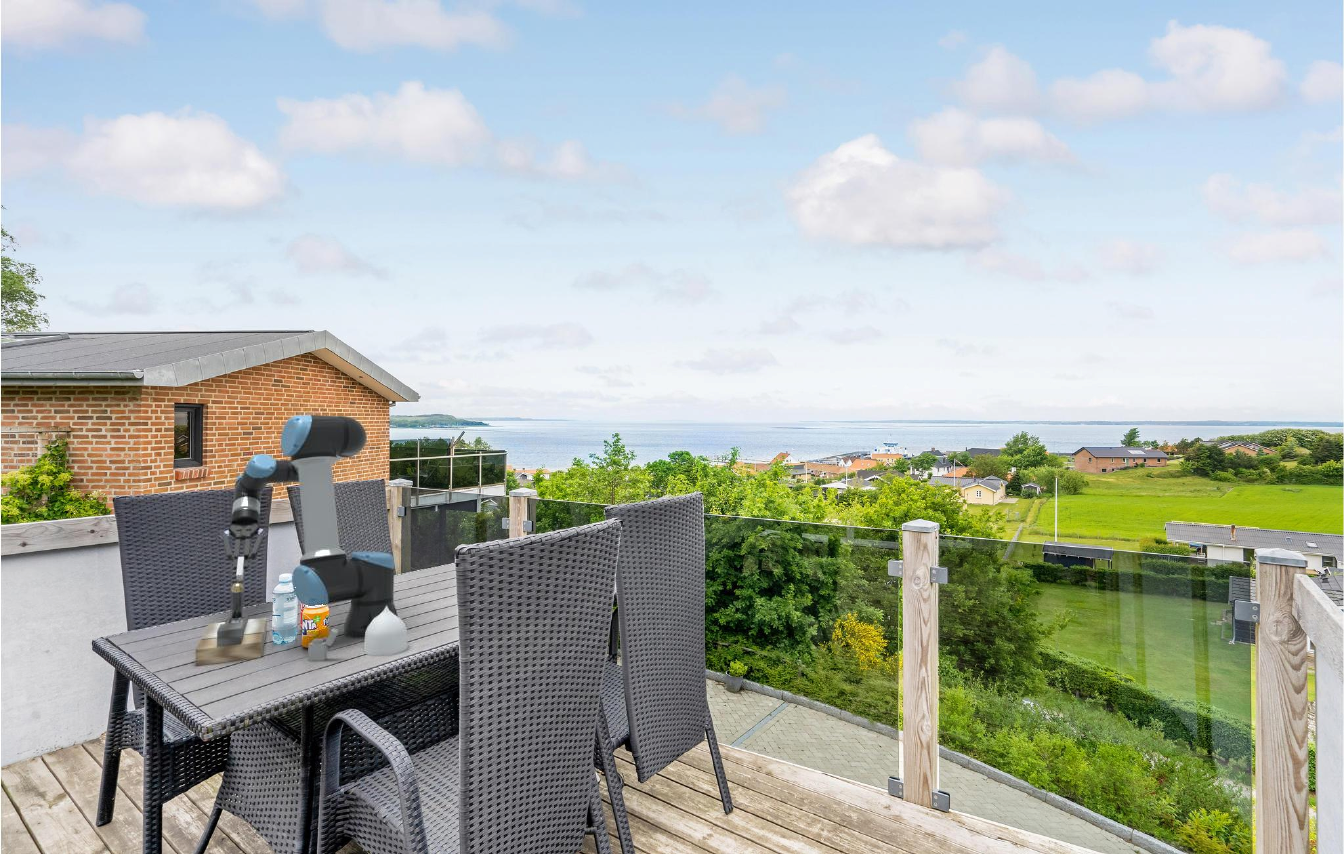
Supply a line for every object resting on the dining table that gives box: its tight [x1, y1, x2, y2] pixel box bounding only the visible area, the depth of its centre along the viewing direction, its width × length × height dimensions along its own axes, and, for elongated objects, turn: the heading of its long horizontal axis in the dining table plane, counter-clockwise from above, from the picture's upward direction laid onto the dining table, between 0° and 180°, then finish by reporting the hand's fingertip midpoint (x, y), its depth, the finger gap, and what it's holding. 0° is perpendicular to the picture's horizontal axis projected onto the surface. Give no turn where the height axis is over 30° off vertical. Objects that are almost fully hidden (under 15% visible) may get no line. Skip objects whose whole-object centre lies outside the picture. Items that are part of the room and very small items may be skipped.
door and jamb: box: [194, 613, 268, 666], centre depth 180 cm, size 14×25×8 cm, turn 29°
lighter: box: [307, 627, 340, 662], centre depth 171 cm, size 7×2×8 cm, turn 92°
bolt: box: [230, 582, 245, 623], centre depth 183 cm, size 3×12×12 cm, turn 29°
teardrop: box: [363, 606, 408, 657], centre depth 180 cm, size 11×11×12 cm
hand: (239, 577), depth 197 cm, fingers closed
